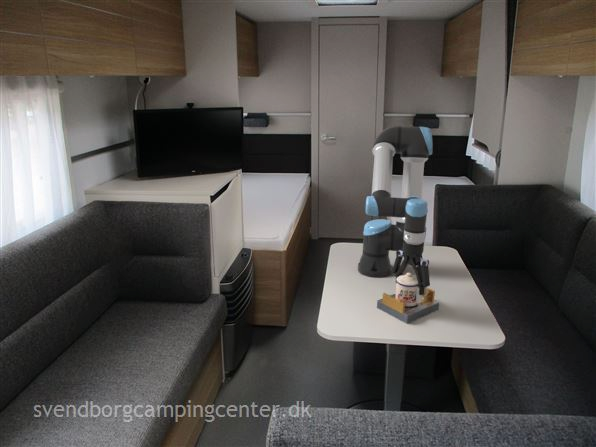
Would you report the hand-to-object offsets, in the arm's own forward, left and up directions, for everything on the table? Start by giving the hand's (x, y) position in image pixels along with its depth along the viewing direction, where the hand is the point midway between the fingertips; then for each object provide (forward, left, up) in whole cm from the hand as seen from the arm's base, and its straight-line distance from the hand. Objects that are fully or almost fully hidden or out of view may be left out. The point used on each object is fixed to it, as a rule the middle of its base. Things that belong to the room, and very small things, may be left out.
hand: (408, 296), depth 191 cm
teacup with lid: (+1, 0, -2) cm, 2 cm away
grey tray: (0, 0, -5) cm, 5 cm away
